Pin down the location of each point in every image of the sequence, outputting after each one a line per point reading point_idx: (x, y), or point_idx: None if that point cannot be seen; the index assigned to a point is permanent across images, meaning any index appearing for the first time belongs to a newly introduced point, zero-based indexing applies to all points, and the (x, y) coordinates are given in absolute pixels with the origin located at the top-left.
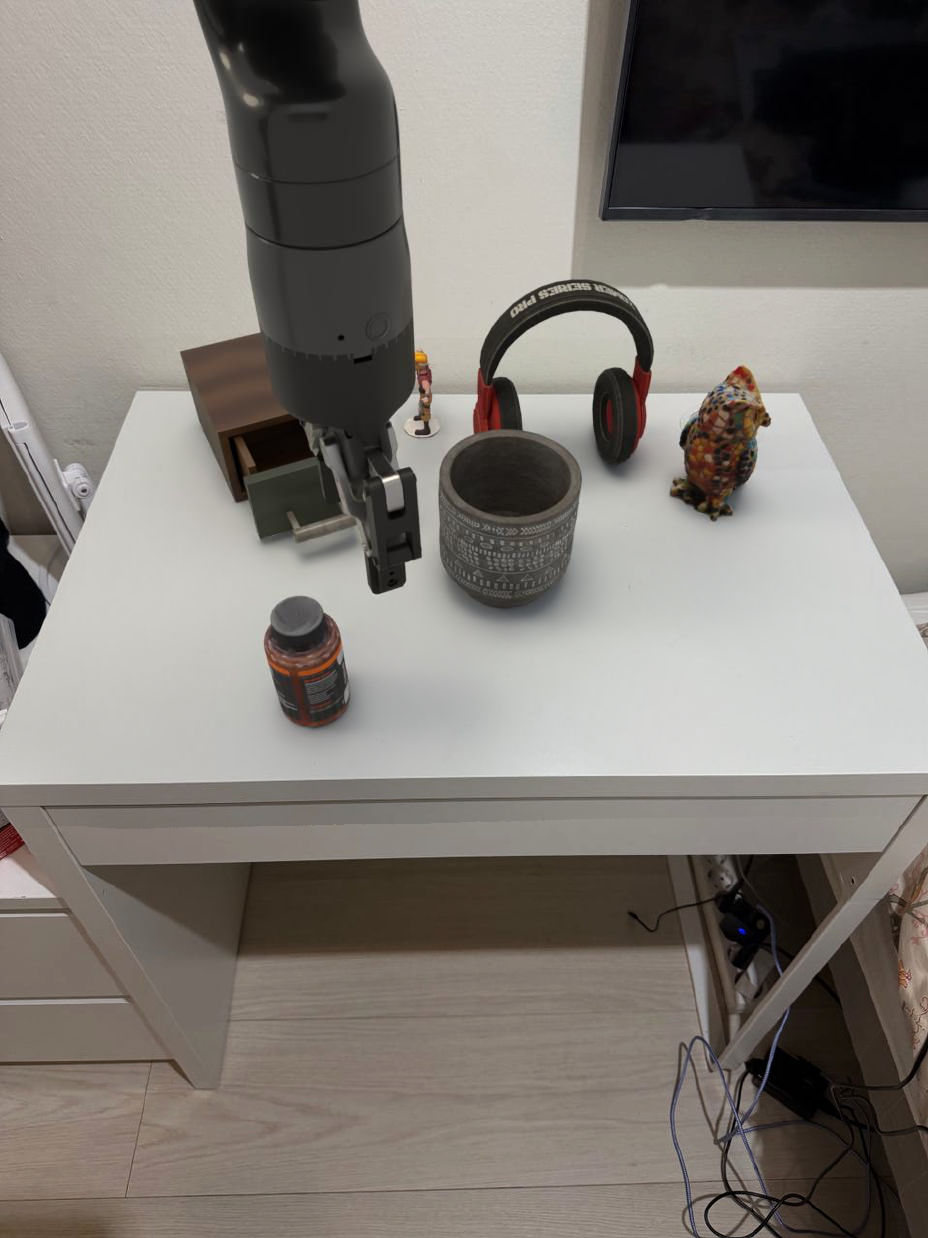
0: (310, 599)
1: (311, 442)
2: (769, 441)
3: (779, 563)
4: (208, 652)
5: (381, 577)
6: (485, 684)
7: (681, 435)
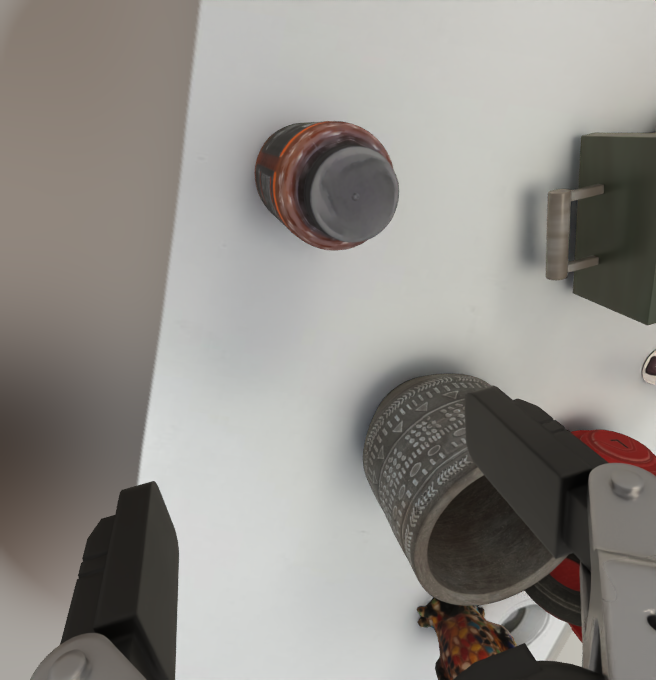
0: (382, 224)
1: (613, 610)
2: None
3: (350, 647)
4: (421, 24)
5: (79, 582)
6: (276, 381)
7: (509, 641)
